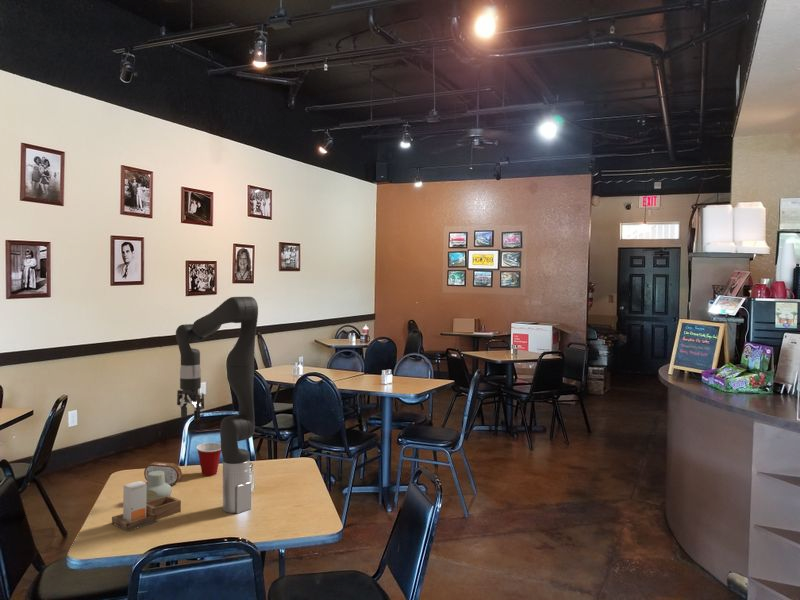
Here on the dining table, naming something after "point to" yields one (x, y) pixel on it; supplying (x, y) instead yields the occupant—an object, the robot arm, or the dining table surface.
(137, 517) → the skincare box
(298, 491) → the dining table surface
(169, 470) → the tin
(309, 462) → the dining table surface
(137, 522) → the caddy
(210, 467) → the plastic cup
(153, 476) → the air freshener
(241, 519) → the dining table surface
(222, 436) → the robot arm
